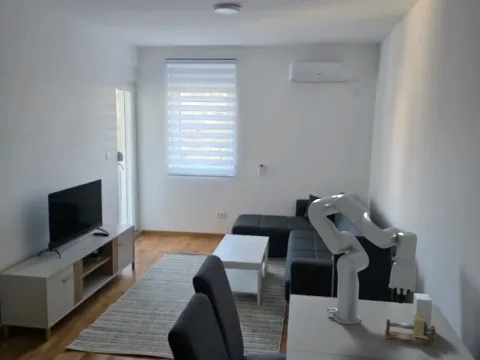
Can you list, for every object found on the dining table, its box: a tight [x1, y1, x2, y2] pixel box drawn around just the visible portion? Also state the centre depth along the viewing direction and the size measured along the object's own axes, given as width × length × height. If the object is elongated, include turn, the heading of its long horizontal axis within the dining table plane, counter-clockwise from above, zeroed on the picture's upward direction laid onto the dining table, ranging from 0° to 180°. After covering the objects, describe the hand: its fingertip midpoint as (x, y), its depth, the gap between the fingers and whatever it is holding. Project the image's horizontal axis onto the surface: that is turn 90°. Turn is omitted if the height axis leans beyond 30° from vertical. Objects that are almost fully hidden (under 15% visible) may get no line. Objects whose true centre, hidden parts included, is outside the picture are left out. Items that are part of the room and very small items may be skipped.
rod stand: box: [384, 319, 437, 348], centre depth 191 cm, size 20×6×8 cm, turn 74°
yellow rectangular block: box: [411, 314, 425, 337], centre depth 190 cm, size 4×5×7 cm
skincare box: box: [412, 292, 433, 335], centre depth 200 cm, size 8×7×16 cm
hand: (400, 302), depth 191 cm, fingers closed
